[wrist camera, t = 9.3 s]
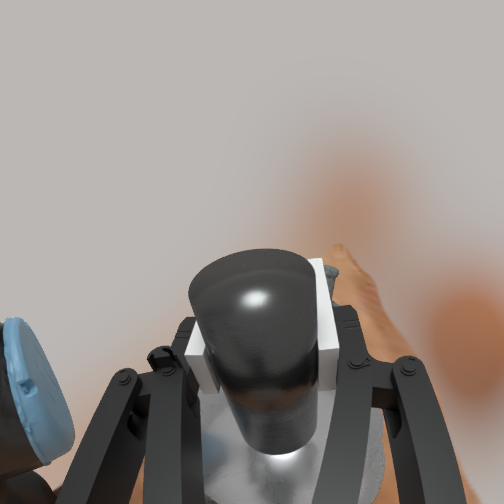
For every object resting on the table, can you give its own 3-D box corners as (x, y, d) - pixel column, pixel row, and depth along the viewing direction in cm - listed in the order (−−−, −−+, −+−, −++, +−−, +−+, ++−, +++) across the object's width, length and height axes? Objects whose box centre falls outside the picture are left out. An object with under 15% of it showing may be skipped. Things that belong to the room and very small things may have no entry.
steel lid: (155, 421, 17) (70, 286, 12) (287, 339, 23) (269, 199, 18) (265, 558, 8) (187, 551, 3) (414, 419, 14) (475, 259, 9)
